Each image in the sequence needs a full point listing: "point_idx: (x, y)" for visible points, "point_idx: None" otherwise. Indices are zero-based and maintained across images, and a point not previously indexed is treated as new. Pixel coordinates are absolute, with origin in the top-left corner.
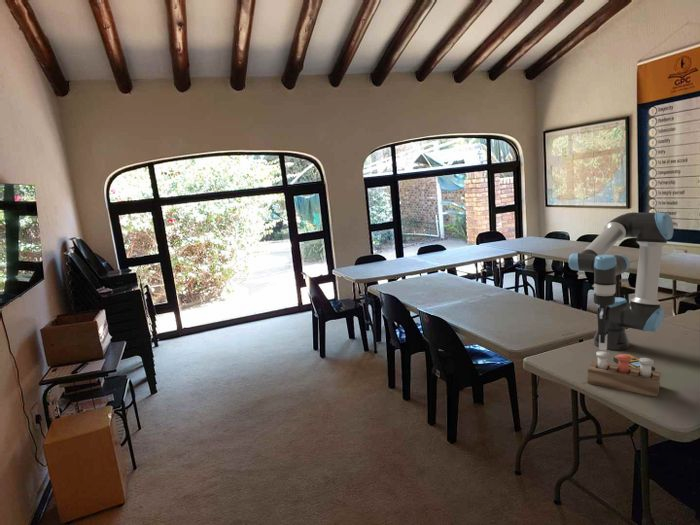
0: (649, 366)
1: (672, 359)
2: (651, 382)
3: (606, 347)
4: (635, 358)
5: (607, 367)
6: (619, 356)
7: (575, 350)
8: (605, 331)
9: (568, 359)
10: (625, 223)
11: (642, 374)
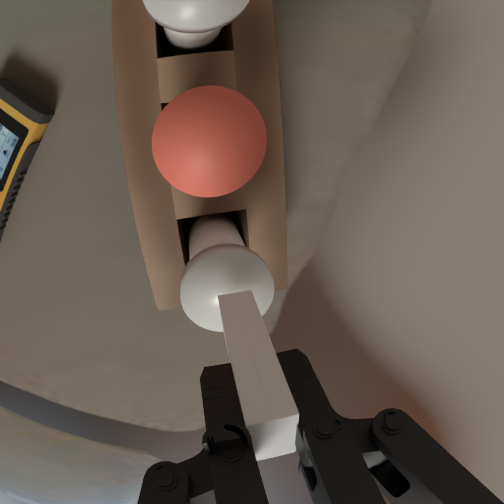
0: None
1: None
2: None
3: (245, 307)
4: None
5: (212, 222)
6: (225, 174)
7: (25, 371)
8: (400, 454)
9: (101, 370)
10: None
11: (220, 29)
